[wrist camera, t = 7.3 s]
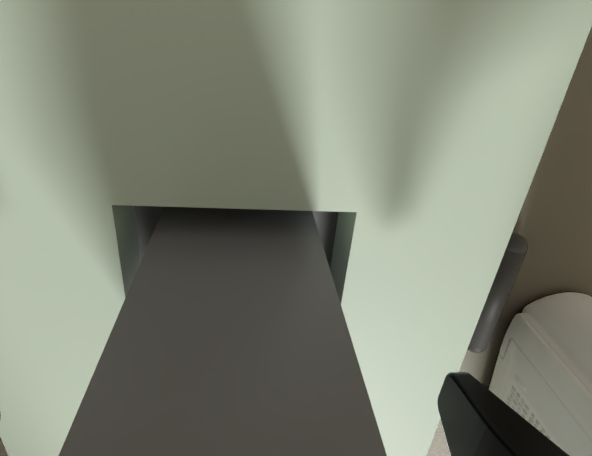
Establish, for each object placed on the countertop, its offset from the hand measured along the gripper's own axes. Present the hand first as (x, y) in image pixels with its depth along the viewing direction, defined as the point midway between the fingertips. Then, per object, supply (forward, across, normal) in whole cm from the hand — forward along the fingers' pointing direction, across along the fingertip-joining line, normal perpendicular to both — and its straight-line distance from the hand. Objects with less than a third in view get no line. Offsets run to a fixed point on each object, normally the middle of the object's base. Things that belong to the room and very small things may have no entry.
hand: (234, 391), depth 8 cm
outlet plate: (+5, 0, 0) cm, 5 cm away
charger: (+4, 0, 0) cm, 5 cm away
